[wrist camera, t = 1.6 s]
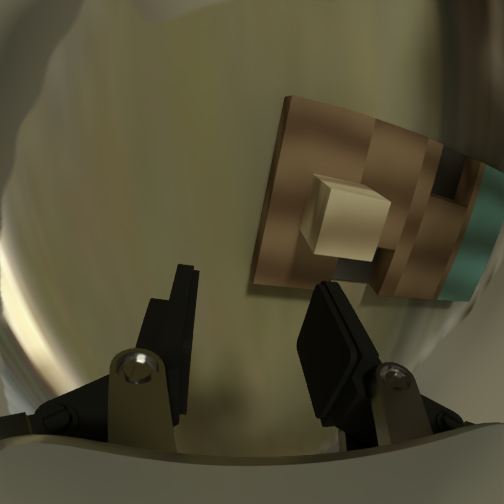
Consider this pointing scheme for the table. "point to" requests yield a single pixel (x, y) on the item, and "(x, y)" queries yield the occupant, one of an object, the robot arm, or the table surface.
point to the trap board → (390, 187)
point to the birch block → (343, 218)
